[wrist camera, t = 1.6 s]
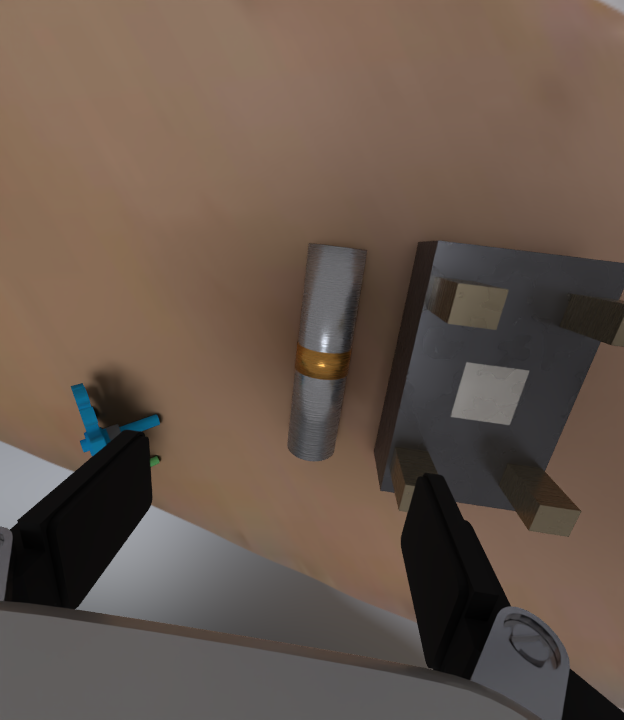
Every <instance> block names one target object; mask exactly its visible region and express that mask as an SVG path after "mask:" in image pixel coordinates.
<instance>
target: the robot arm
mask: <svg viewBox="0 0 624 720" xmlns="http://www.w3.org/2000/svg"><path fill="white" fill-rule="evenodd" d="M151 503H152V483H151V466H150V450H149V439H148V437H145V434H144V433H143V432H141V431H134V430H124V431H122V432H121V433H120V434H119V435H117V436H116V437H115V438H114V439H113V440H112V441H110V442H109V443H108V444H107V445H106V446H104V447H103V448H102V449H101V450H100V451H99V452H97V453H96V454H95V455H94V456H93V457H91V458H90V459H89V460H88V461H87V462H86V463H84V464H83V465H82V466H81V467H80V468H79V469H77V470H76V471H75V472H74V473H73V474H71V475H70V476H69V477H68V478H67V479H66V480H64V481H63V482H62V483H61V484H60V485H59V486H57V487H56V488H55V489H54V490H53V491H51V492H50V493H49V494H48V495H47V496H46V497H44V498H43V499H42V500H41V501H40V502H39V503H37V504H36V505H35V506H34V507H33V508H31V509H30V510H29V511H28V512H27V513H26V514H24V515H23V516H22V517H21V518H20V519H18V520H17V521H18V523H17V524H16V525H15V526H14V527H12V528H11V529H10V530H9V529H7V528H4V527H0V720H624V712H622V711H621V710H620V709H619V708H618V707H616V706H615V705H614V704H613V703H611V702H610V701H609V700H608V699H607V698H605V697H604V696H603V695H602V694H600V693H599V692H598V691H597V690H596V689H594V688H593V687H592V686H591V685H589V684H588V683H587V682H586V681H585V680H583V679H582V678H581V677H580V676H579V675H577V674H576V673H575V672H574V671H572V670H571V669H570V665H569V657H568V654H567V652H566V649H565V647H564V645H563V644H562V642H561V641H560V639H559V638H558V636H557V635H556V634H555V633H554V632H553V630H552V629H551V628H550V627H549V626H548V625H547V624H546V623H544V622H543V621H542V620H541V619H540V618H538V617H537V616H535V615H534V614H532V613H530V612H529V611H527V610H524V609H521V608H518V607H511V605H510V603H509V601H508V599H507V597H506V595H505V593H504V591H503V589H502V587H501V585H500V583H499V581H498V579H497V576H496V574H495V572H494V570H493V568H492V566H491V564H490V562H489V560H488V558H487V556H486V554H485V552H484V550H483V548H482V546H481V544H480V541H479V539H478V537H477V535H476V533H475V531H474V529H473V527H472V526H471V524H470V523H469V522H468V521H466V520H464V519H463V517H462V515H461V512H460V510H459V508H458V506H457V504H456V502H455V500H454V497H453V495H452V493H451V491H450V489H449V487H448V485H447V482H446V480H445V478H444V477H443V476H442V475H438V474H431V473H424V474H423V477H421V476H419V477H418V478H417V481H416V484H415V488H414V492H413V495H412V499H411V503H410V506H409V510H408V513H407V517H406V521H405V524H404V528H403V532H402V535H401V549H402V554H403V558H404V563H405V568H406V572H407V577H408V582H409V586H410V591H411V596H412V600H413V605H414V610H415V614H416V619H417V624H418V628H419V633H420V638H421V642H422V647H423V652H424V656H425V661H426V664H427V666H428V668H432V669H433V670H431V669H427V668H422V667H417V666H412V665H407V664H401V663H396V662H391V661H385V660H380V659H375V658H370V657H364V656H358V655H352V654H346V653H341V652H335V651H328V650H323V649H317V648H311V647H305V646H300V645H294V644H287V643H282V642H276V641H270V640H264V639H258V638H252V637H246V636H239V635H233V634H227V633H221V632H215V631H208V630H203V629H196V628H190V627H184V626H178V625H172V624H165V623H159V622H153V621H146V620H140V619H134V618H127V617H120V616H114V615H108V614H102V613H95V612H89V611H82V610H75V609H76V608H77V607H78V606H79V605H80V604H81V602H82V601H83V600H84V598H85V597H86V595H87V594H88V592H89V591H90V590H91V588H92V587H93V586H94V584H95V583H96V582H97V580H98V579H99V577H100V576H101V575H102V573H103V572H104V571H105V569H106V568H107V566H108V565H109V564H110V562H111V561H112V559H113V558H114V557H115V555H116V554H117V552H118V551H119V550H120V548H121V547H122V546H123V544H124V543H125V542H126V540H127V539H128V537H129V536H130V534H131V533H132V532H133V530H134V529H135V528H136V526H137V525H138V523H139V522H140V521H141V519H142V518H143V517H144V515H145V514H146V512H147V511H148V510H149V508H150V506H151Z"/></svg>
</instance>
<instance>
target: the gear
mask: <svg viewBox="0 0 624 720" xmlns="http://www.w3.org/2000/svg"><path fill="white" fill-rule="evenodd" d="M71 389H72V391H73V394H74V397H75V400H76V403H77V406H78V409H79V412H80V414H81V417H82V420H83V423H84V426H85V429H86V432H85V433H84V435H85V438H86V439H84V440H81V441H80V443H81V446H82V449H83V451H84V452H87V451H90V452H91V455H92V456H94V455H95V454H96V453H97V452H99V451H100V450H101V449H102V448H103V447H104V446H106V445H107V444H108V443H109V442H110V441H112V440H113V439H114V438H115V437H116V436H117V435H119V434H120V433H121V432H122V431H124V430H134V431H144V430H147V429H149V428H152V427H155V426H157V425H160V422H159V418H158V416H157V415H156V414H155V415H152V416H150V417H147V418H144V419H141V420H138V421H135V422H132V423H130V424H127V425H124V426H121V427H119V426H118V424H116V425H113V426H110V427H107V428H104V429H102V428H101V427H100V428H99V426H98V421H97V418H96V415H95V412H94V409H93V407H91V404H90V400H89V397H88V394H87V391H86V389H85V387H84V385H83V383H81V384H78V385H74V386H71ZM158 463H159V459H158V457H157V456H155V457H153V458H151V459H150V466H151V467H152V466H154V465H156V464H158Z"/></svg>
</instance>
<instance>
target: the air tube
mask: <svg viewBox="0 0 624 720" xmlns="http://www.w3.org/2000/svg"><path fill="white" fill-rule="evenodd" d="M366 255H367V250H360V249H353V248H345V247H337V246H329V245H320V244H311V243H309V246H308V256H307V265H306V274H305V284H304V293H303V302H302V312H301V321H300V330H299V340H298V343H297V352H296V362H295V377H294V386H293V396H292V405H291V415H290V424H289V433H288V443H287V446H288V449H289V451H290V452H291V453H292V454H293V455H295V456H296V457H298V458H300V459H303V460H308V461H322V460H325V459H328V458H329V457H331V456H332V455H333V453H334V449H335V443H336V437H337V431H338V425H339V419H340V413H341V407H342V401H343V395H344V389H345V383H346V376H347V374H348V368H349V362H350V356H351V350H352V348H351V346H352V340H353V334H354V328H355V322H356V316H357V310H358V303H359V297H360V291H361V285H362V279H363V273H364V267H365V261H366Z"/></svg>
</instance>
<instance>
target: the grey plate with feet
mask: <svg viewBox="0 0 624 720" xmlns="http://www.w3.org/2000/svg"><path fill="white" fill-rule="evenodd" d="M623 289H624V263H619V262H611V261H603V260H594V259H586V258H578V257H570V256H561V255H553V254H545V253H537V252H528V251H520V250H512V249H504V248H495V247H487V246H479V245H471V244H463V243H454V242H446V241H428V242H418V247H417V252H416V256H415V261H414V266H413V270H412V275H411V280H410V285H409V289H408V294H407V299H406V303H405V308H404V313H403V317H402V322H401V327H400V331H399V336H398V341H397V346H396V350H395V355H394V360H393V364H392V369H391V374H390V378H389V383H388V388H387V392H386V397H385V402H384V407H383V411H382V416H381V421H380V425H379V430H378V435H377V439H376V444H375V449H374V455H375V461H376V467H377V473H378V479H379V485H380V491H387V492H393V493H395V496H396V501H397V505H398V509H399V511H404V512H408V510H409V506H410V503H411V499H412V495H413V492H414V488H415V484H416V481H417V478H418V477H419V476H421V477H423V474H424V473H431V474H438V475H442V476H443V477H444V478H445V480H446V482H447V485H448V487H449V489H450V491H451V493H452V495H453V497H454V500H455V502H459V503H466V504H472V505H479V506H486V507H492V508H499V509H505V510H512V511H516V512H517V514H518V515H519V517H520V518H521V520H522V521H523V523H524V524H525V526H526V527H527V529H528V530H529V531H534V532H541V533H547V534H554V535H560V536H567V537H569V535H570V533H571V531H572V529H573V527H574V525H575V523H576V521H577V519H578V517H579V515H580V513H581V510H580V509H579V508H578V507H577V506H576V505H575V504H574V503H573V502H572V501H571V499H570V498H569V497H568V496H567V495H566V494H565V493H564V492H563V491H562V490H561V489H560V488H559V486H558V485H557V484H556V483H555V482H554V481H553V480H552V479H551V478H550V477H549V476H548V475H547V473H546V472H545V470H546V467H547V465H548V463H549V460H550V458H551V456H552V453H553V451H554V449H555V446H556V444H557V442H558V439H559V437H560V435H561V433H562V430H563V428H564V426H565V423H566V421H567V419H568V416H569V414H570V412H571V409H572V407H573V405H574V402H575V400H576V398H577V395H578V393H579V391H580V389H581V386H582V384H583V382H584V379H585V377H586V375H587V372H588V370H589V368H590V365H591V363H592V361H593V358H594V356H595V354H596V351H597V349H598V347H599V345H600V342H604V343H607V344H610V345H614V346H622V347H624V301H622V300H619V298H620V296H621V294H622V291H623Z"/></svg>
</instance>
